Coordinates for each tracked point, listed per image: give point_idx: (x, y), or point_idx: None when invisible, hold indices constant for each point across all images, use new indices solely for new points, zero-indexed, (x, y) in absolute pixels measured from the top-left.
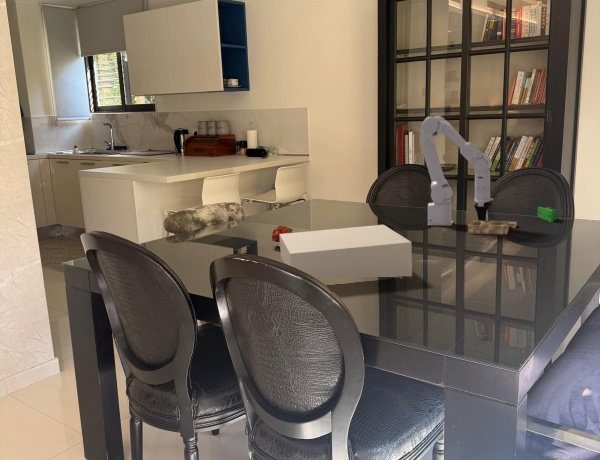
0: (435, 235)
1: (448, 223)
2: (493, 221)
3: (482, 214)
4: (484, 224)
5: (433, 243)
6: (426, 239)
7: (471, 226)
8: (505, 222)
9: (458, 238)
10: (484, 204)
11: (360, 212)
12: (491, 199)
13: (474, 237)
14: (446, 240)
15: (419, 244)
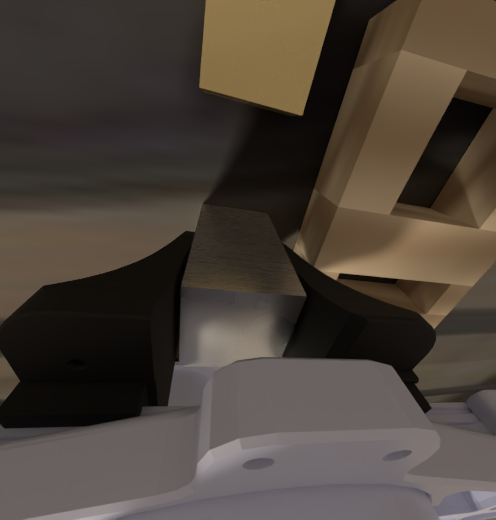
0: None
1: (203, 375)
2: (374, 185)
3: None
4: (452, 258)
5: (483, 375)
6: (423, 391)
7: (438, 317)
8: (487, 51)
9: (466, 328)
10: (161, 361)
11: None
12: (422, 432)
13: (490, 279)
14: (470, 354)
15: (471, 395)
